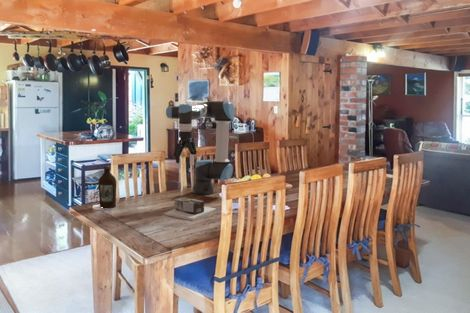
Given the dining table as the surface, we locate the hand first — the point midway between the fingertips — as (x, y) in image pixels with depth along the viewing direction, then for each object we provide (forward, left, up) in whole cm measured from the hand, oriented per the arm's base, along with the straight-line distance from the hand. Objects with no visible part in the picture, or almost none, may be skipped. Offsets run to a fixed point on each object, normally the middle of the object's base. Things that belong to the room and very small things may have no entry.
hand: (185, 166), depth 250 cm
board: (+1, +5, -27) cm, 27 cm away
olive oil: (+18, -45, -27) cm, 56 cm away
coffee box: (+1, -4, -22) cm, 23 cm away
